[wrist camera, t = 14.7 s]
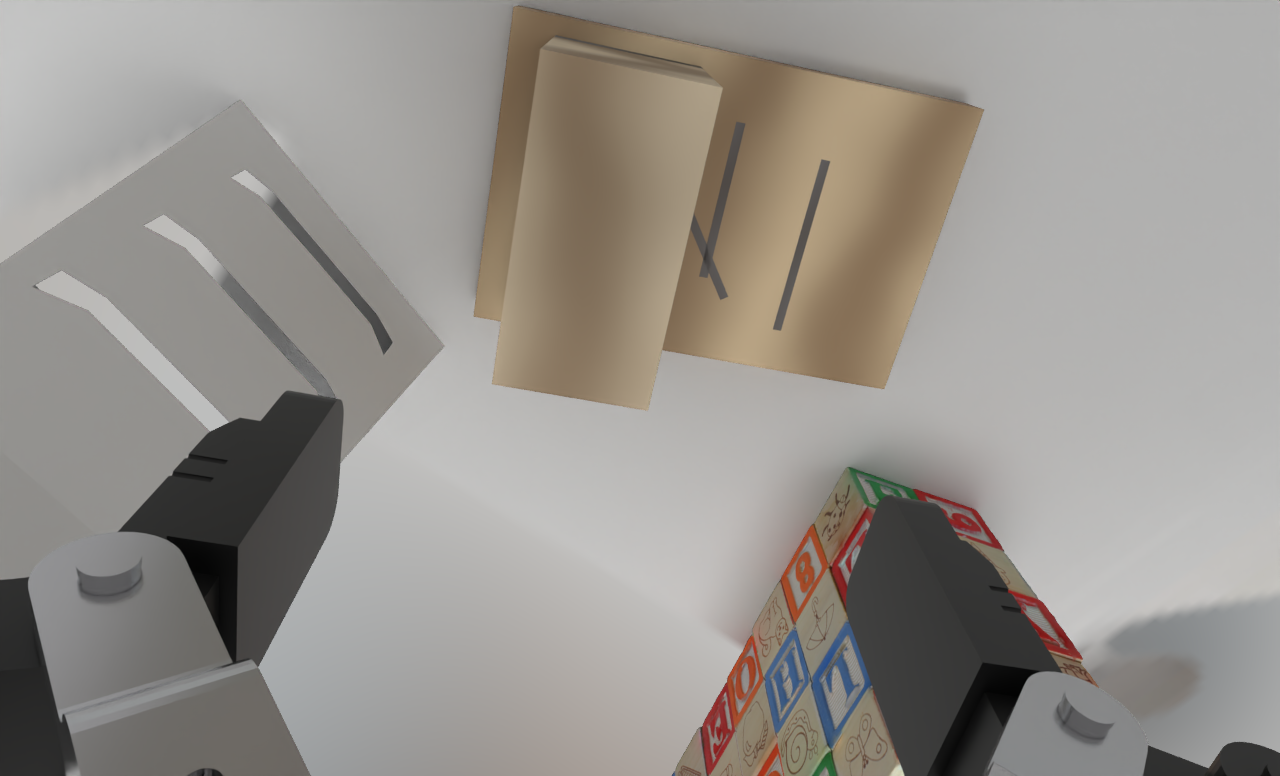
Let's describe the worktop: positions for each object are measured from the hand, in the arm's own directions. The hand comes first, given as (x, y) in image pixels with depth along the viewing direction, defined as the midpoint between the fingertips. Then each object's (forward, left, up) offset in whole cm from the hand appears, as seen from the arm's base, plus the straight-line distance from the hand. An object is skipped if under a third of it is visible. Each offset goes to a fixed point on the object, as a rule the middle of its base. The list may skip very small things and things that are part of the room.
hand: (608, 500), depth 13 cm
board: (-3, -1, -19) cm, 19 cm away
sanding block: (0, -1, -17) cm, 17 cm away
